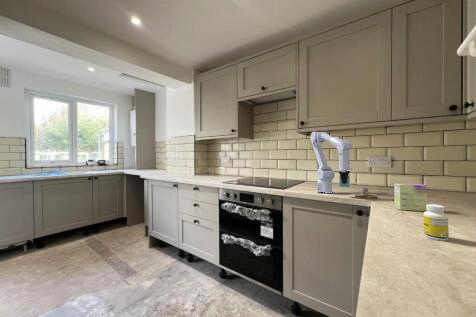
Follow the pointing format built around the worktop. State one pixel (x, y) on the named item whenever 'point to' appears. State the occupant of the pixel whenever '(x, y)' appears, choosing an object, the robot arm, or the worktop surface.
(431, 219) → the supplement bottle
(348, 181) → the teal rectangular block
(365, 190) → the post board
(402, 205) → the box
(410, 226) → the worktop surface
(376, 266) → the worktop surface
